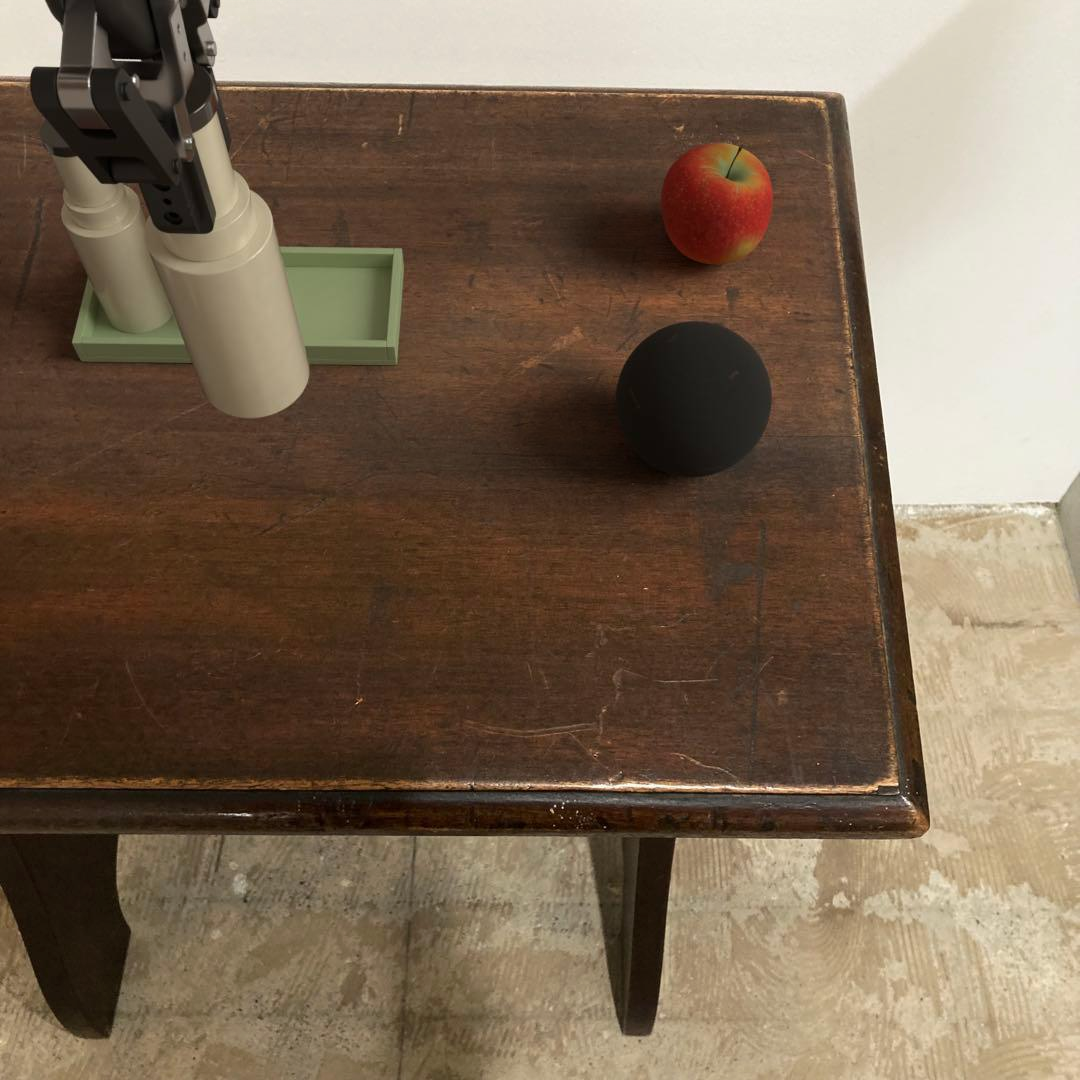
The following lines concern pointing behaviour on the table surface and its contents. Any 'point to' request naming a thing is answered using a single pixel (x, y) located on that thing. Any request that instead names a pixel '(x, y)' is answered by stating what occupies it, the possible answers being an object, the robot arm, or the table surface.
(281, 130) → the table surface
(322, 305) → the tray
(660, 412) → the black ball
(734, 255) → the apple
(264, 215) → the bottle
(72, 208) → the bottle
